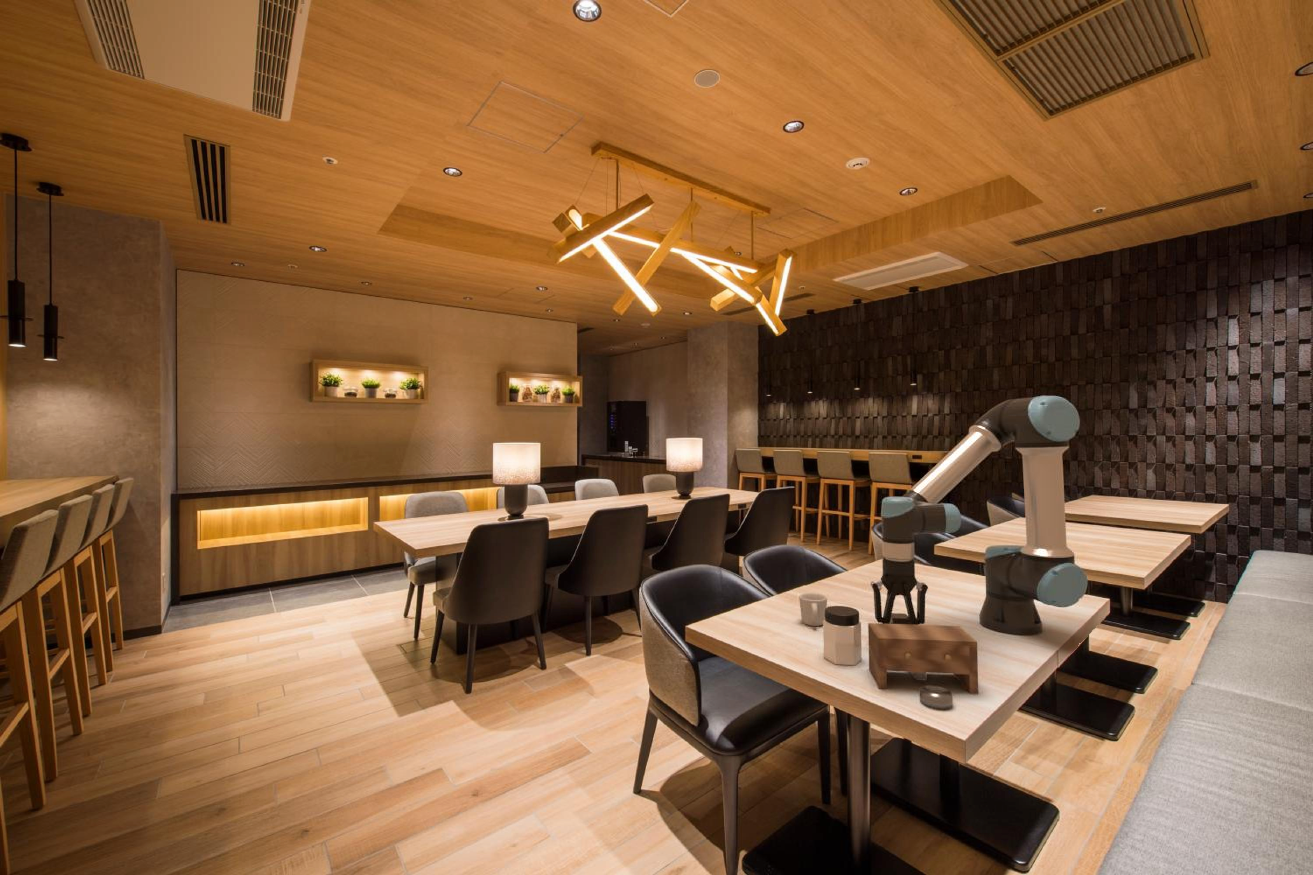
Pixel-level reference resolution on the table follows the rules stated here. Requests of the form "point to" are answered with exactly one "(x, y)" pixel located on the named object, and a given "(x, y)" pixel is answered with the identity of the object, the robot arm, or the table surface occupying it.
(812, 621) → the cup
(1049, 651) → the table surface
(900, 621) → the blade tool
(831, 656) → the jar
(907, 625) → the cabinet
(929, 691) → the disc
